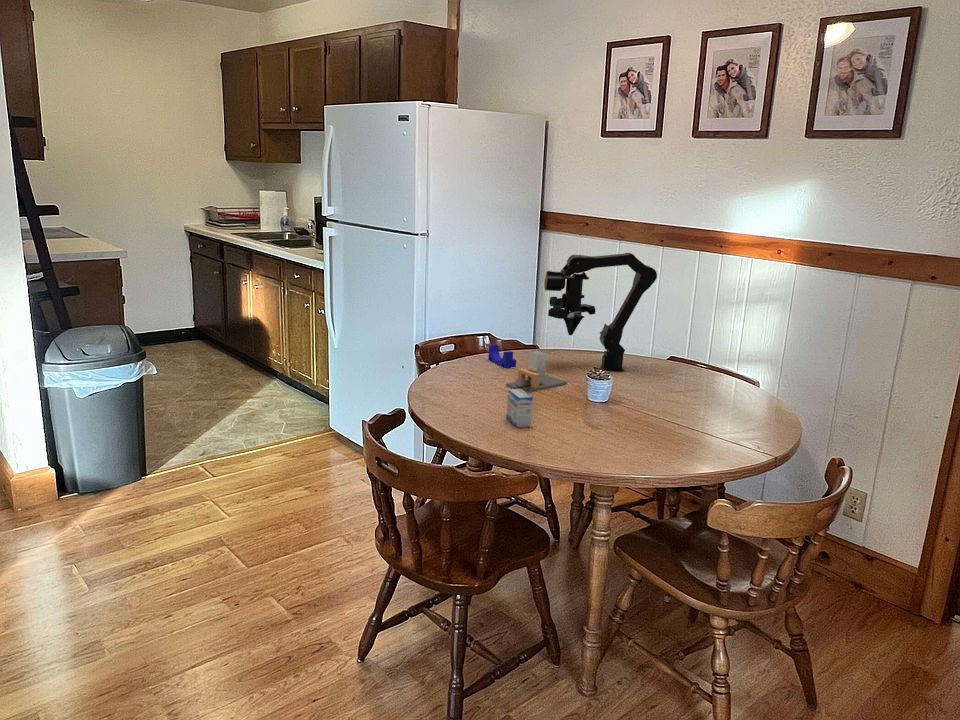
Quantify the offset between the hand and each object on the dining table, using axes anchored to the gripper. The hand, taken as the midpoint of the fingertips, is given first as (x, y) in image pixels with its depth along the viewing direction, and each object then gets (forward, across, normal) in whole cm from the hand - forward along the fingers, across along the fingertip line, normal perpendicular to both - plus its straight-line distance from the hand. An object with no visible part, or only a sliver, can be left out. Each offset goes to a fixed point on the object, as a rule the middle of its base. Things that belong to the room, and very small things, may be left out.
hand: (570, 335), depth 265 cm
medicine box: (+12, +55, +33) cm, 65 cm away
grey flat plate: (+12, +25, +10) cm, 29 cm away
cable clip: (+12, +17, -16) cm, 27 cm away
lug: (+11, +29, +10) cm, 33 cm away
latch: (+11, +29, +10) cm, 32 cm away
